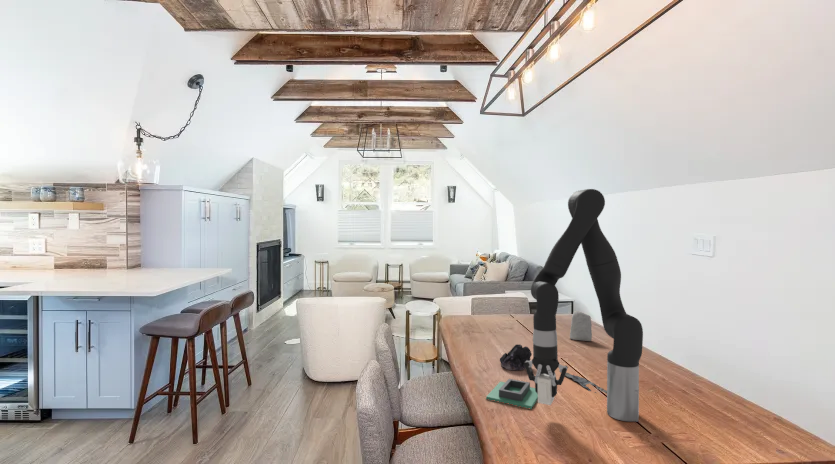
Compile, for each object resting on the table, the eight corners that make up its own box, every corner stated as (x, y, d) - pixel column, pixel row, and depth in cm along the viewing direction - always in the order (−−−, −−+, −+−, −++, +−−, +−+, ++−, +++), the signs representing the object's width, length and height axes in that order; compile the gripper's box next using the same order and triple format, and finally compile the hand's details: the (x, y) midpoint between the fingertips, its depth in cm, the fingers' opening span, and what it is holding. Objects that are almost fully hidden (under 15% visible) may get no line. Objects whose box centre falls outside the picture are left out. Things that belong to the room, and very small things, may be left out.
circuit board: (542, 392, 152) (542, 382, 152) (531, 409, 138) (531, 399, 138) (500, 383, 160) (500, 375, 160) (486, 399, 146) (486, 389, 146)
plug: (554, 397, 134) (554, 373, 134) (550, 406, 128) (549, 381, 128) (542, 395, 136) (541, 371, 136) (537, 404, 130) (536, 379, 130)
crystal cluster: (495, 369, 177) (496, 347, 176) (503, 357, 189) (504, 337, 188) (526, 377, 172) (527, 354, 170) (532, 364, 183) (534, 343, 182)
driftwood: (559, 375, 170) (559, 370, 170) (574, 374, 172) (574, 368, 172) (594, 397, 150) (594, 391, 149) (610, 394, 151) (610, 389, 151)
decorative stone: (592, 340, 219) (592, 312, 219) (590, 342, 214) (590, 314, 214) (571, 337, 225) (571, 309, 224) (568, 339, 220) (569, 311, 219)
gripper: (570, 342, 132) (571, 394, 133) (526, 337, 139) (527, 387, 140) (566, 348, 126) (567, 403, 126) (520, 342, 133) (521, 395, 133)
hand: (546, 394), depth 133 cm, fingers closed on plug, 4 cm apart
